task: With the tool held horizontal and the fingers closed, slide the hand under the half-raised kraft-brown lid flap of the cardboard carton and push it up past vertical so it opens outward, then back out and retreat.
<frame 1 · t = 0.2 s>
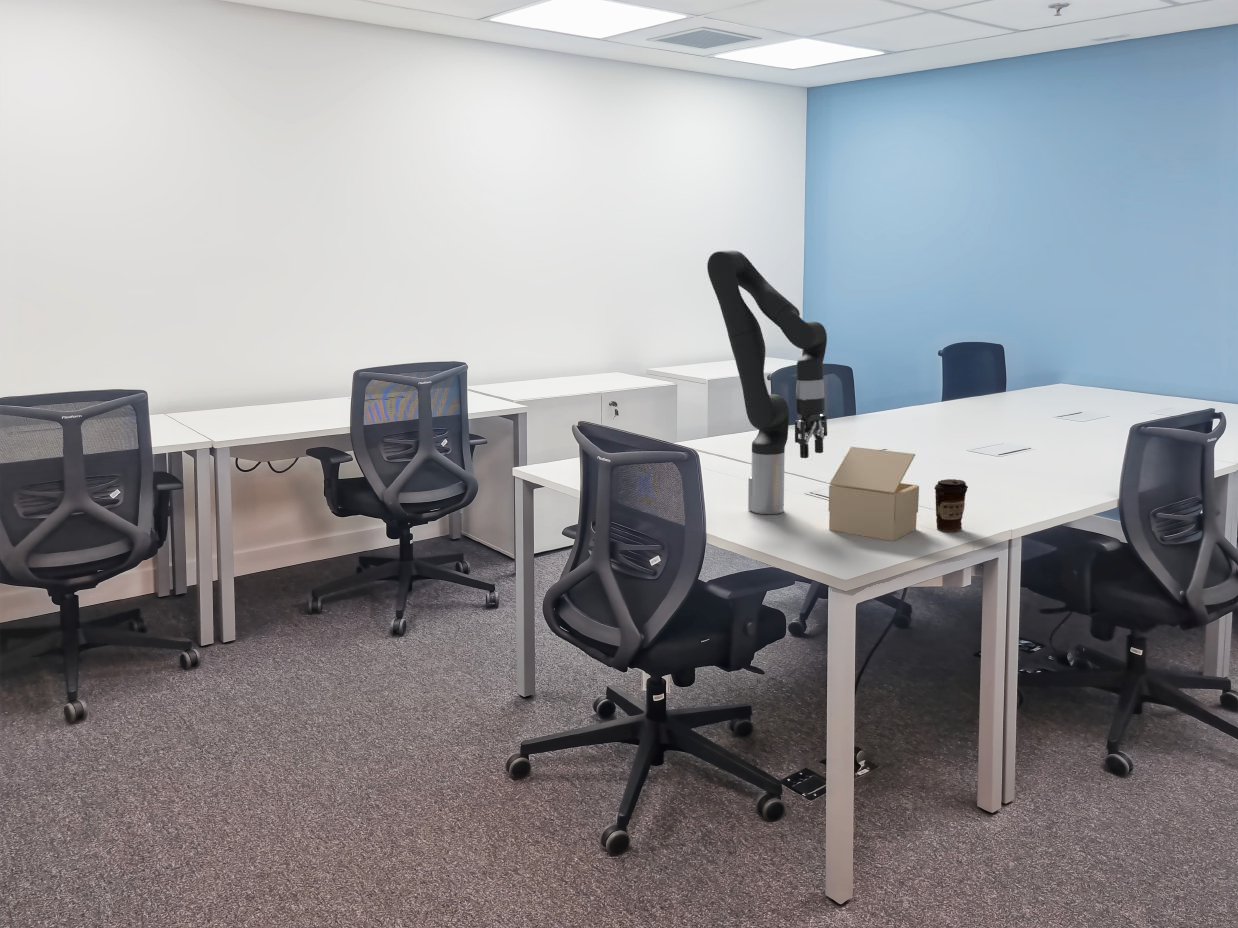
hand: (811, 455, 275), 18 cm above the table, tool pointing down, fingers open, 8 cm apart
lid flap: (872, 469, 262), point 17 cm above the table, hinge at 35.0°
carton: (872, 529, 266), on the table
coffee cup: (949, 530, 265), on the table
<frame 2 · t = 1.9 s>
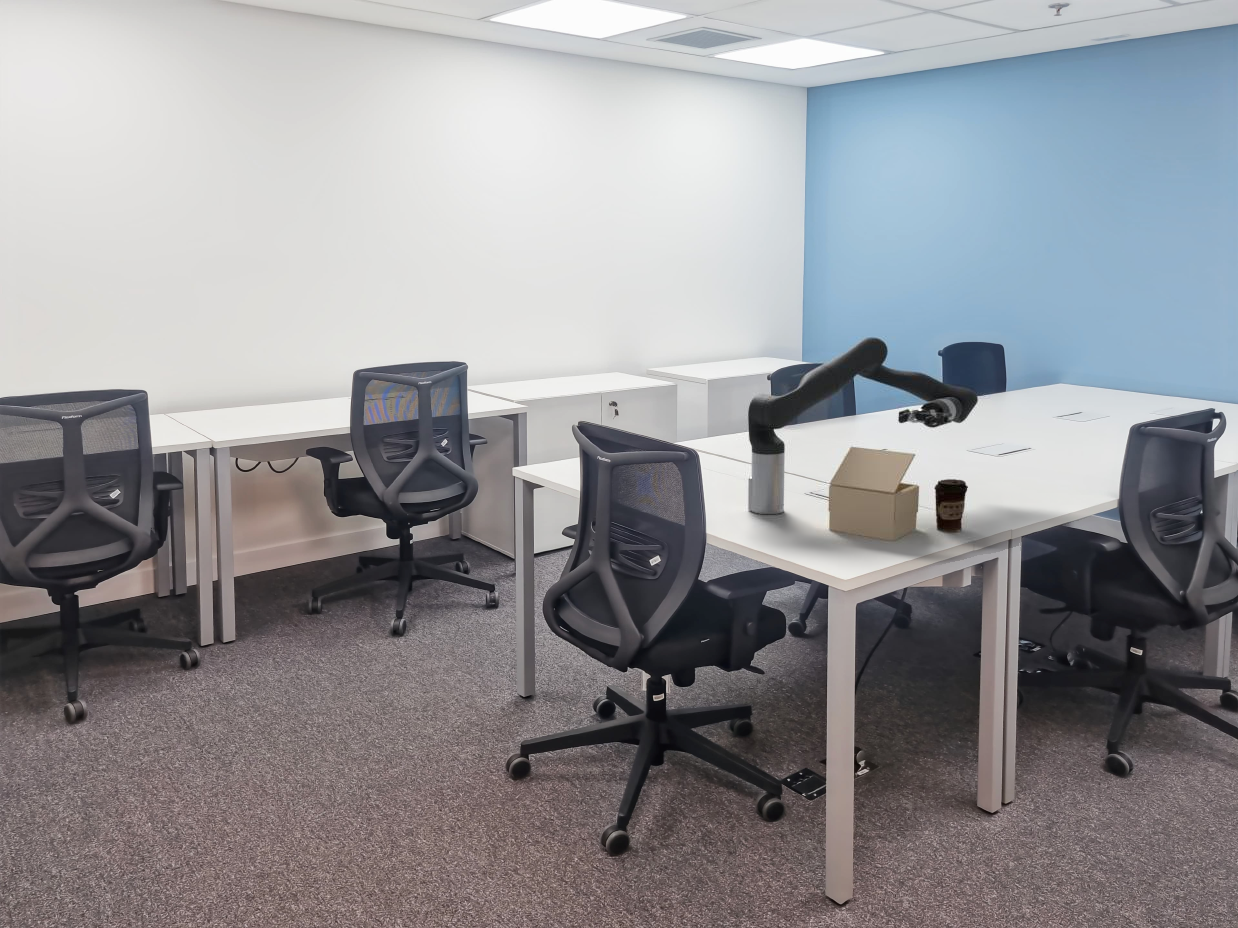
hand: (913, 420, 278), 26 cm above the table, tool horizontal, fingers open, 7 cm apart
nothing on the table moved.
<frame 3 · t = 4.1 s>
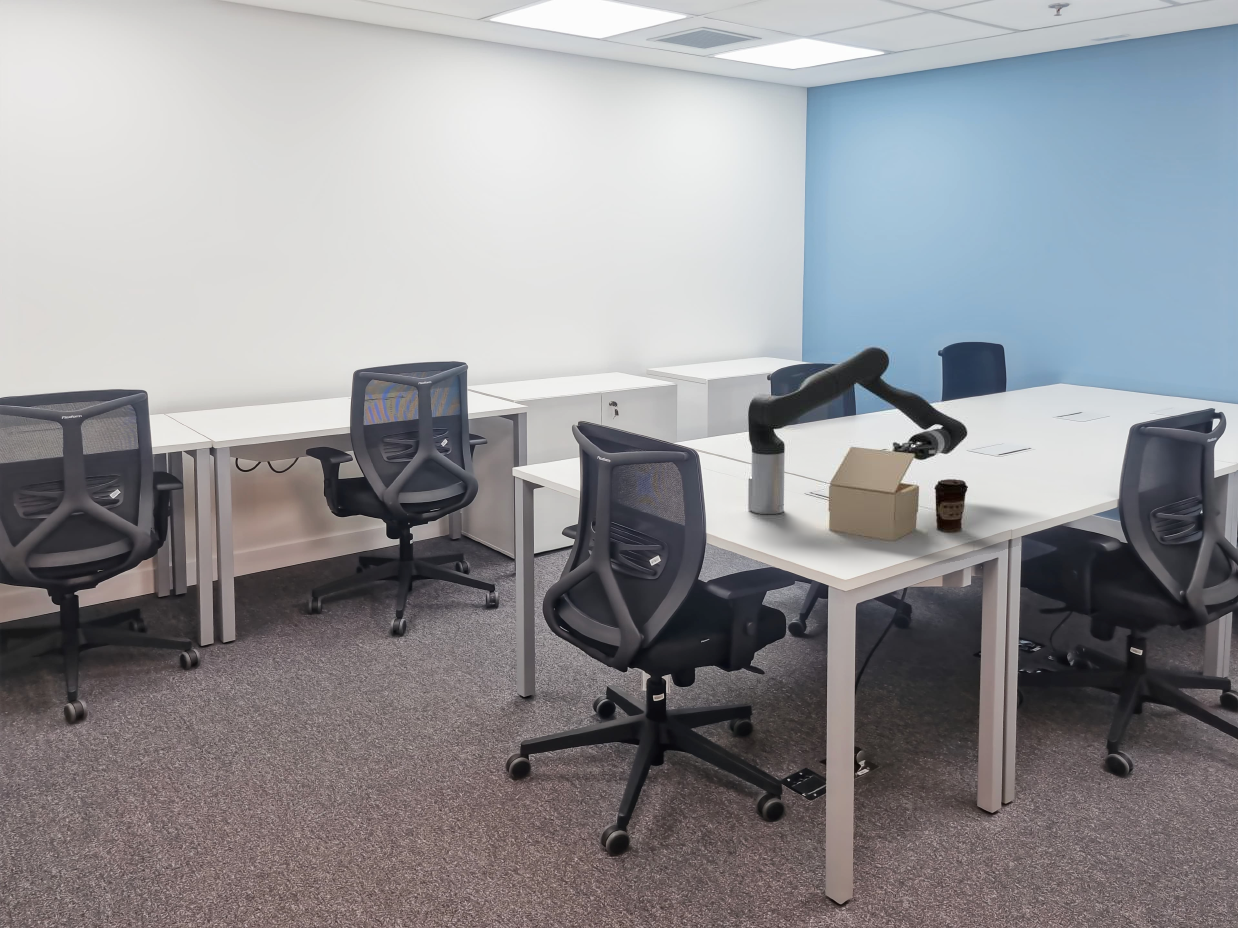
hand: (899, 454, 274), 18 cm above the table, tool horizontal, fingers closed
nothing on the table moved.
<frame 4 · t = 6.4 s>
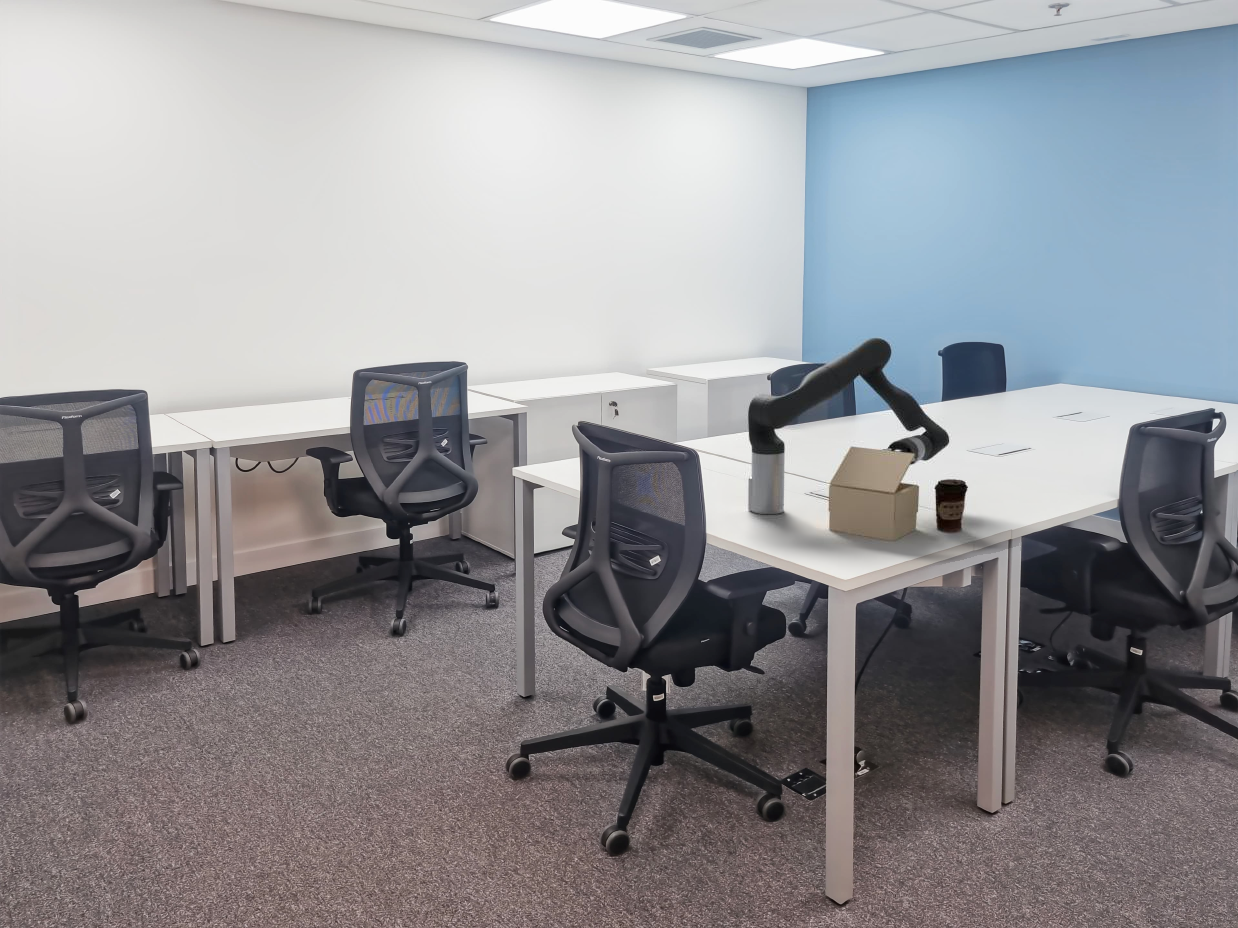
hand: (878, 462, 264), 18 cm above the table, tool horizontal, fingers closed
lid flap: (872, 469, 262), point 17 cm above the table, hinge at 35.3°, touching gripper
everything else where it was.
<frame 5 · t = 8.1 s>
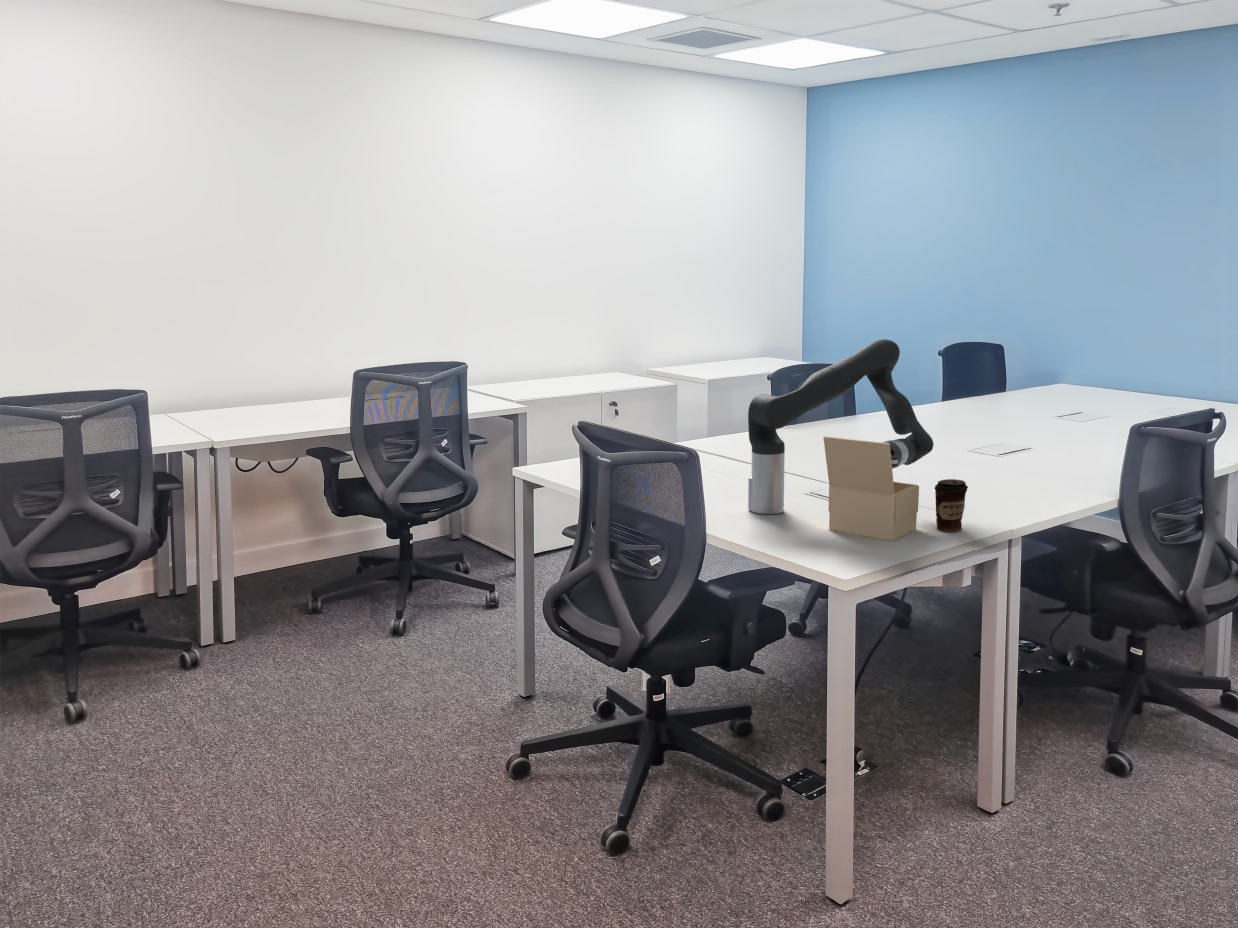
hand: (860, 463, 255), 19 cm above the table, tool horizontal, fingers closed
lid flap: (858, 465, 255), point 19 cm above the table, hinge at 105.9°, touching gripper
everything else where it was.
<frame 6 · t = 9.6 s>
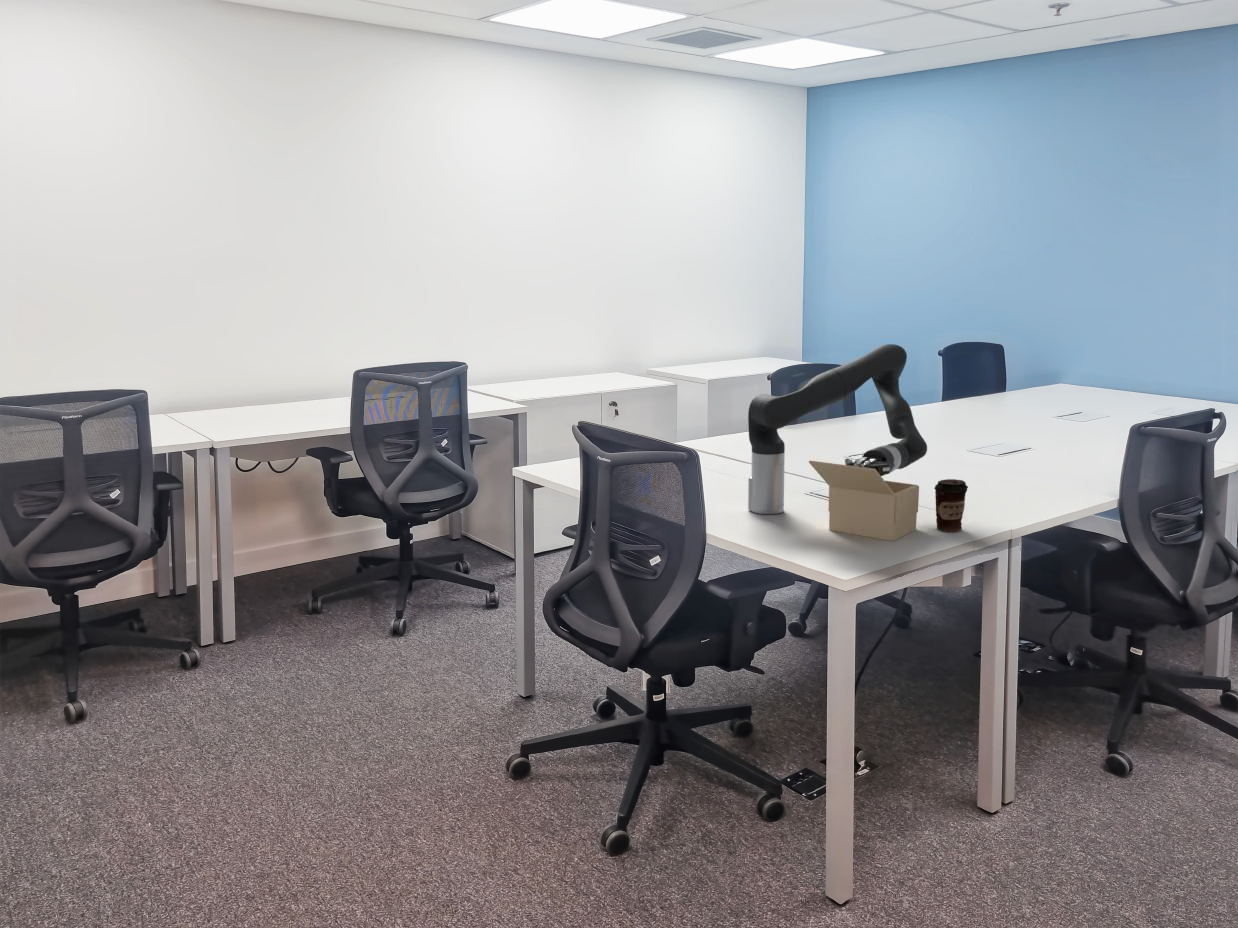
hand: (851, 472, 252), 18 cm above the table, tool horizontal, fingers closed
lid flap: (851, 477, 253), point 16 cm above the table, hinge at 143.6°, touching gripper
everything else where it was.
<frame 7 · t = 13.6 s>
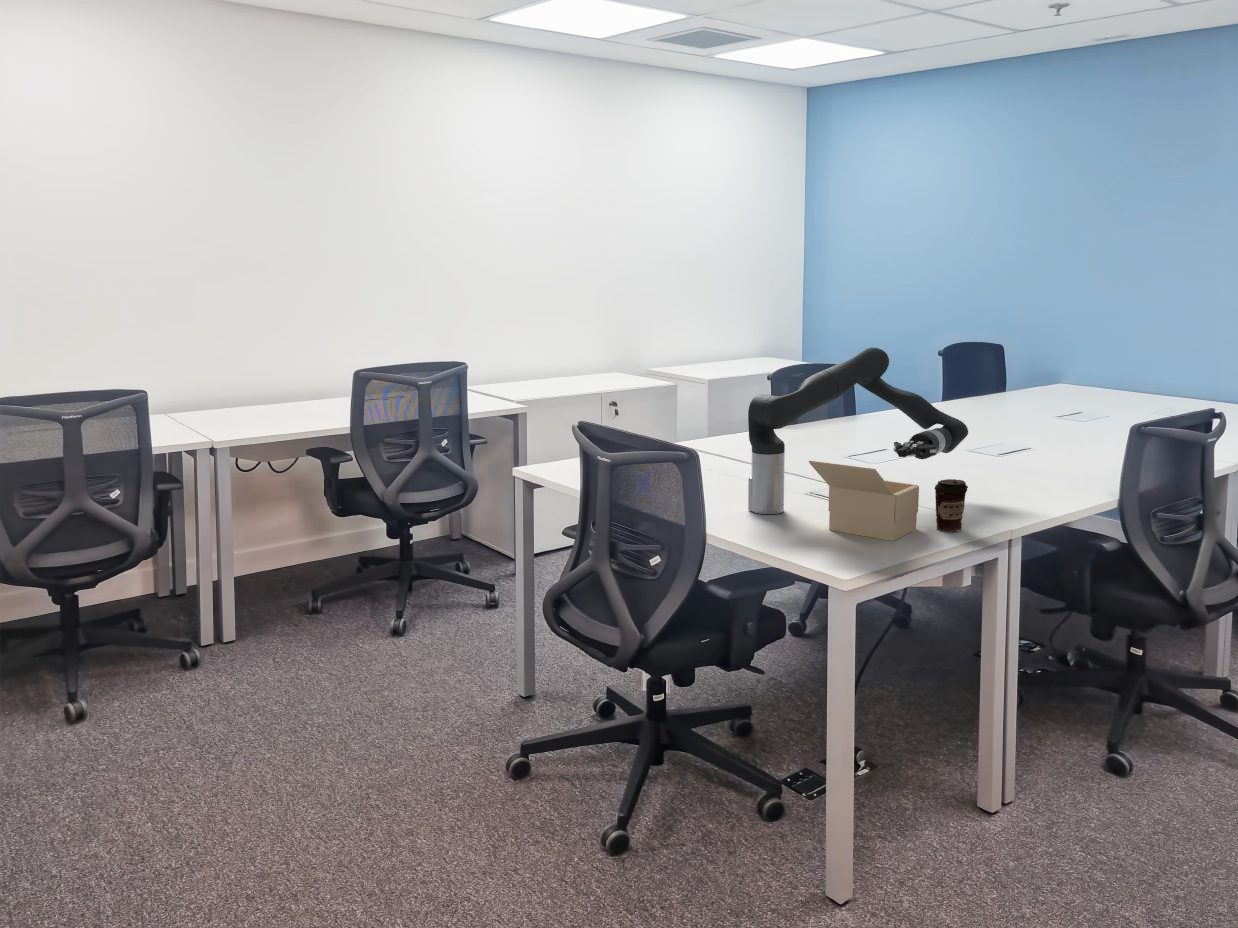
hand: (901, 453, 274), 18 cm above the table, tool horizontal, fingers closed
lid flap: (851, 478, 253), point 16 cm above the table, hinge at 143.7°
everything else where it was.
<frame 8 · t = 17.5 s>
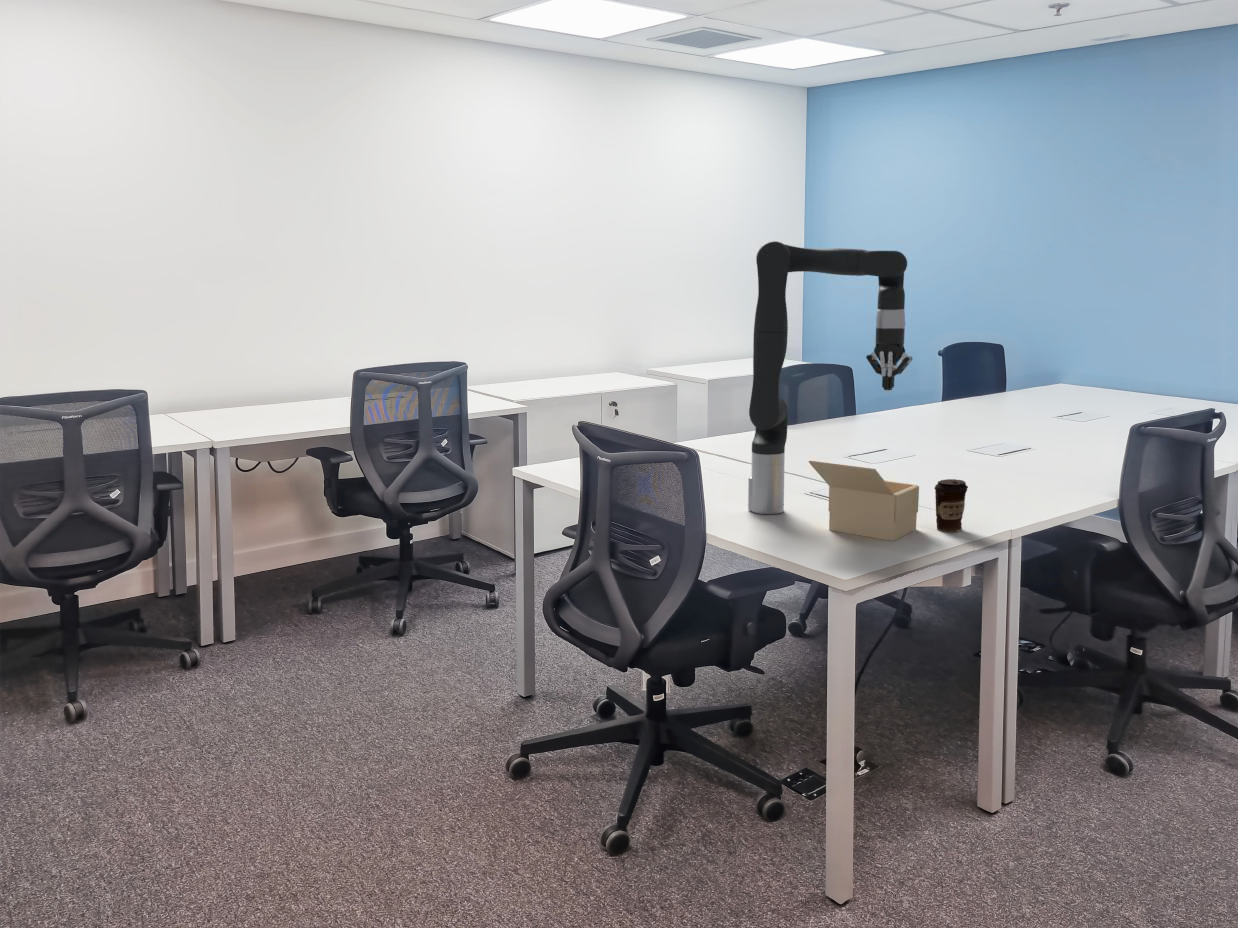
hand: (888, 390, 275), 35 cm above the table, tool pointing down, fingers closed
nothing on the table moved.
at the end: lid flap at +144° (first picture: +35°); coffee cup moved 0.2 cm from its start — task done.
